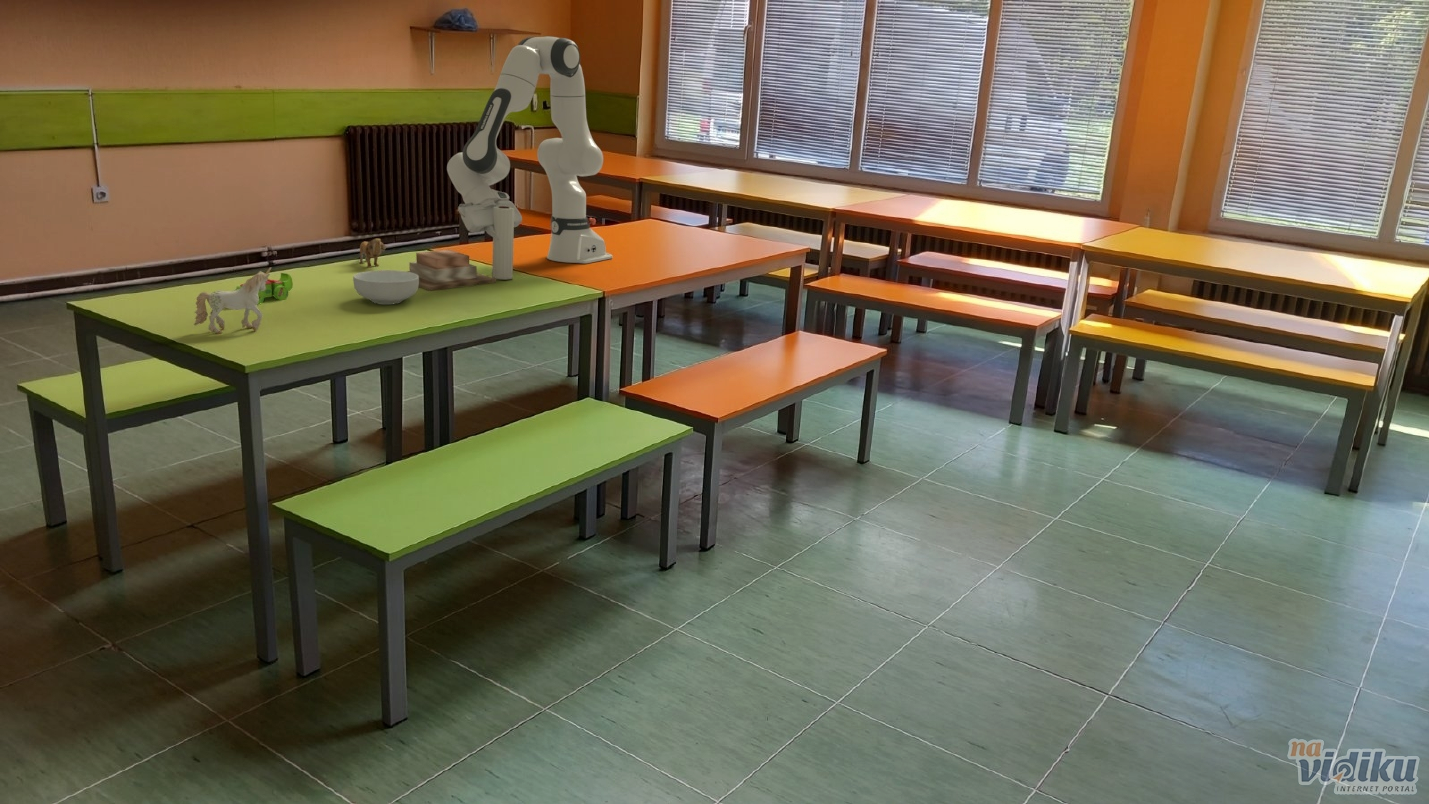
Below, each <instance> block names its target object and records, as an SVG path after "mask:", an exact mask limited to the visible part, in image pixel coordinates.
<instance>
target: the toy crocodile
mask: <svg viewBox="0 0 1429 804" xmlns="http://www.w3.org/2000/svg"><path fill="white" fill-rule="evenodd" d="M243 284H244V283H242V284H240V285H237V286H236V288H235V289H233V291H236V290H238V289H240V288H241V287H242V285H243ZM293 285H294V284H293V278H292V276H291V275H290V274H289V273H288V272H287V273H286V272H280V278H279V279H278V280H275V279H269V278H268V279H267V282H266V283H265V287H266V290H264V291H260V289H259V292H258V297H259V301H258V304H260V303H262V304H263V303H264V301H265V298H271V297H274V298H275V299H276V300H278V301H284V300H287V298H288V296H289V291H291V290H292V289H293ZM260 305H261V304H260Z"/></svg>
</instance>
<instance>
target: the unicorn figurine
mask: <svg viewBox="0 0 1429 804" xmlns="http://www.w3.org/2000/svg"><path fill="white" fill-rule="evenodd" d="M271 269H272V267H269V268H268V269H267V270H266V272H263V271H261V270H260V271H258V272H257V273H256V274H254V275H253V276H251V278H249V279H247V280H246V281H245V282H244V283H242V284H243V285H242V287H241V288H240V289H238V290H236V291H234V290H232V291H229V290H227V291H226V290H216V291H212V292H207V291H203V292H202V291H201V292H200V293H199V294H198V296H197V297H196V302H195V305H196V307H195V308H196V309H197V310H195V311H194V314H196V316H195V318H194V319H195V322H194V324H193V325H194V326H197V325H201V324H203V323H205V322H206V321H207V319H208V318H209V324H208V330H209V331H210V333H213V332H214V333H215V334H217V335H221V334H222V333H223V331H222V330H225V326H226V324H225V319H224V318H222V317H221V316H220V312H221V311H222V310H223V309H229V310H234V311H240V310H244V316H243V318H242V320H241V322H240V323H241V326H242V328H243V329H244V328H245V327H246V328H247V329H248V328H249V329H252V330H254V331H253V332H256V331H257V330H259V327H260V326H261V325H262V324H261V322H262V319H263V312H261V310H260V309H259V308H258V305H257V304H258V301H259V297H258V292H259V289H260V291H264V290H266V287H265V283H266V282H267V279H269V277H270V275H271V273H270V272H271ZM206 302H207V303H208V306H209V307H210V308H211V311H210V313H209V314H210V315H209V314H208V311H207V305H206ZM250 311H251V312H253V313H255V314H256V315H257V318H256V319H254V320H253V321H252V322H251V323H250V322H249V315H250ZM208 315H209V316H208ZM215 319H216V320H215ZM216 324H218V327H219V328H218V327H217V326H216ZM251 327H253V328H251ZM221 329H222V330H221Z"/></svg>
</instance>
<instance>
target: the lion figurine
mask: <svg viewBox="0 0 1429 804" xmlns="http://www.w3.org/2000/svg"><path fill="white" fill-rule="evenodd" d="M387 247H388V246H387V245H386V244H384V242H382V240H381V238H373V239H371V240H370V241H363V242H361V243H360V246H359V255H360V256H358V257H357V259H358V260H359V264H360V263H362V264H364V260H365V262H366V264H367V266H366V267H367V268H369V267H370V268H372V263H371V259H374V261H373V265H375V266H374V267H376V266H377V267H379V266H380V264H379V263H378V258H379V257H380V255H381V254H382V252H385V251H386V249H387ZM364 255H365V259H364V258H363V257H364Z"/></svg>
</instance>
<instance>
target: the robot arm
mask: <svg viewBox="0 0 1429 804" xmlns="http://www.w3.org/2000/svg"><path fill="white" fill-rule="evenodd" d="M507 55H508V56H507V57H506V59H505V61H504V64H503V66H502V68H501V71H500V75H499V77H498V79H497V83H496V86H495V88H494V90H493V91H492V93H491V94H490V97H489V98H488V99H487V100H488V101H487V102H486V105H485V108H484V110H483V112H482V114H481V117H480V120H479V122H478V124H477V126H476V128H475V130H474V133H473V134H472V136H471V137H470V138H469V139H468V140H467V142H466V143H465V144H464V146H463V148H462V152H457V153H455V154H454V155H453V156H452V157H451V158H450V159H449V160H448V162H447V165H446V171H447V174H448V176H449V179H450V180H451V183H452V184H453V187H454V188H455V189H456V191H457V192H458V193H459V194H460V195H461V197H462V200H463V202H464V203H460V204H459V206H458V207H457V211H458V212H459V214H460V217H461V220H462V222H463V224H464V226H465V229H466V230H467V231H468V232H470V233H479V232H480V233H481V232H486V233H487V234H488V235H489V236H490V237H492V239H493V238H494V239H495V241H498V240H499V236H498V235H497V234H496V232H495V230H493V229H494V228H493V225H494V222H493V216H494V207H497V206H506V207H511V206H512V207H513V208H514V228H516V227H519V225H520V224H521V223H522V222H523V217H522V214H521V212H520V211H519V209H518V207H516V205H515V204H514V203H513V201H510V196H509V194H508V193H507V192H504V191H503V192H502V191H499V190H496V189H494V188H493V189H492V188H491V186H492V185H495V184H497V183H499V182H501V181H503V180H505V178H507V176H508V175H509V173H510V171H511V161H510V159H509V157H508V156H507V154H505V153H504V152H503V151H502V150H501V149H499V148H498V146H497V138H498V136H499V133H500V131H501V129H502V126H503V124H504V121H505V119H506V117H507V116H508V115H509V114H511V113H518V112H521V111H524V110H525V109H527V108H529V105H530V103H531V101H532V99H533V97H534V95H535V91H536V87H537V84H538V80H539V76H540V75H548V76H549V79H550V83H549V85H550V86H549V87H550V91H549V92H550V115H551V122H552V123H553V124H554V126H556V128H557V129H558V131H559V133H560V136H561V137H553V138H547V139H544V140H542V141H541V142H540V143H539V144H538V147H537V152H536V154H537V155H536V157H537V161H538V162H539V163H538V164H540V165H541V167H542V168H543V169H544V171H545V173H546V176H547V179H548V182H549V185H550V190H551V202H552V203H551V205H552V206H551V207H552V209H551V211H552V212H551V213H552V215H551V217H550V231H551V233H550V234H551V236H550V244H549V248H548V249H549V250H548V254H547V256H546V259H547V260H550V261H553V262H559V263H574V264H575V263H576V264H590V263H594V262H599V261H600V262H601V261H605V260H606V261H607V260H611V259H613V255H612V254H611V253H609V252H607V251H606V243H605V240H604V239H603V237H601V236H600V235H599V234H598V233H597V232H595V230H593V229H592V228H591V226H590V225H592V226H593V225H596V222H597V220H596V219H595V218H592V217H589V218H588V216H587V194H586V191H585V190H584V189H583V187H582V186H581V184H580V183H579V180H578V176H579V177H588V176H595V175H597V174H598V173H599V172H600V171H601V170H602V168H603V164H604V154H603V151H602V150H601V148H600V147H599V146H598V145H597V144H596V142H595V141H594V139H593V137H592V134H591V132H590V128H589V124H588V119H587V108H586V107H587V106H586V105H587V103H586V87H585V85H586V84H585V78H584V77H585V76H584V74H583V73H584V72H583V68H582V66H581V53H580V50H579V47H578V45H577V44H576V43H575V41H574V40H571V39H569V38H566V37H557V36H537V37H535V36H529V37H525V38H523V39H522V40H520V42H518V44H517V45H516V46H514V47H512V49H511V50H510V52H509V54H507Z"/></svg>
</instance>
